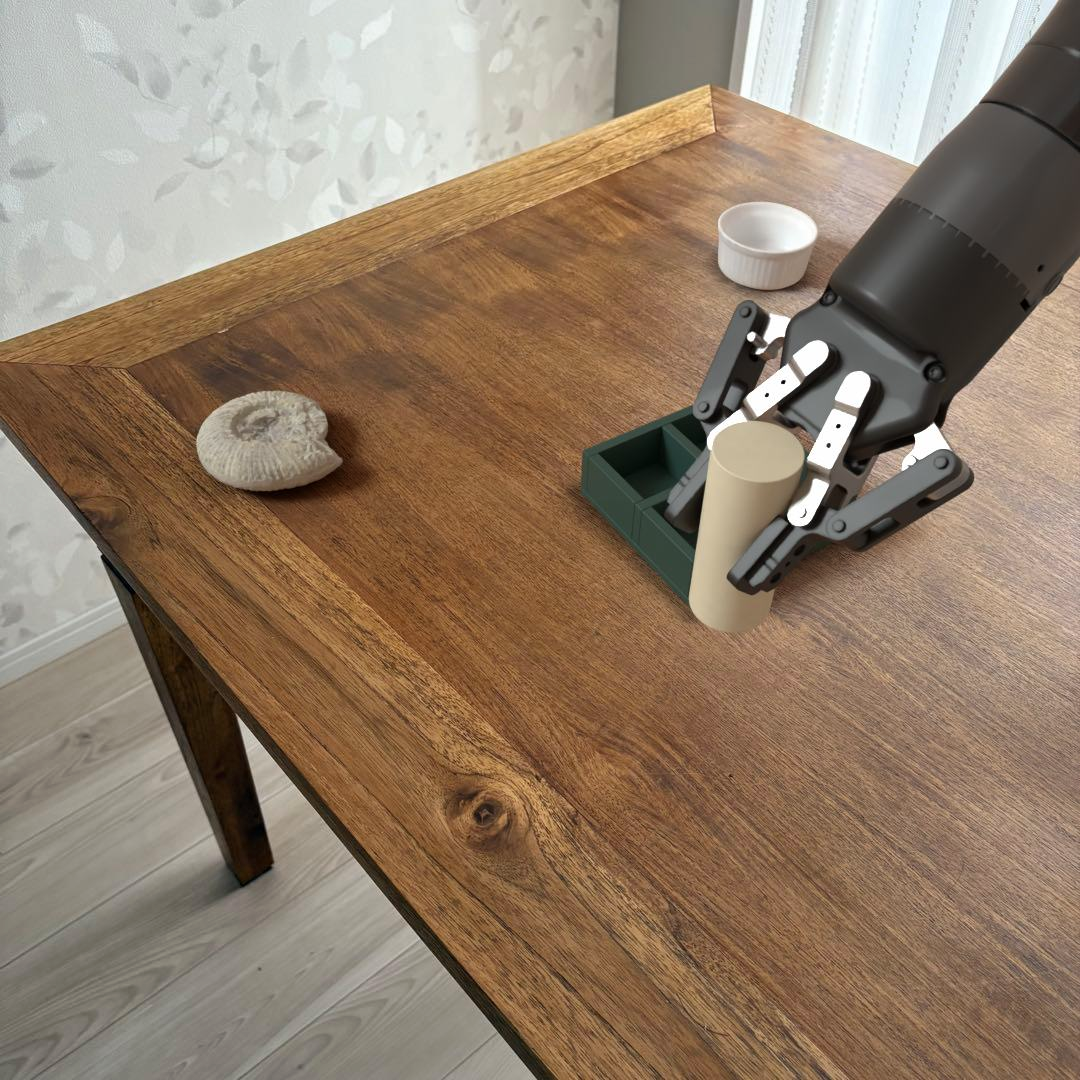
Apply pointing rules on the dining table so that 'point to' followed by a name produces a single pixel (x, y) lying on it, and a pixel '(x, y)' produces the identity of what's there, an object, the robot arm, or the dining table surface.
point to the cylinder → (741, 517)
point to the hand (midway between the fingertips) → (709, 554)
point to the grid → (651, 491)
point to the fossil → (267, 442)
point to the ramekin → (765, 244)
